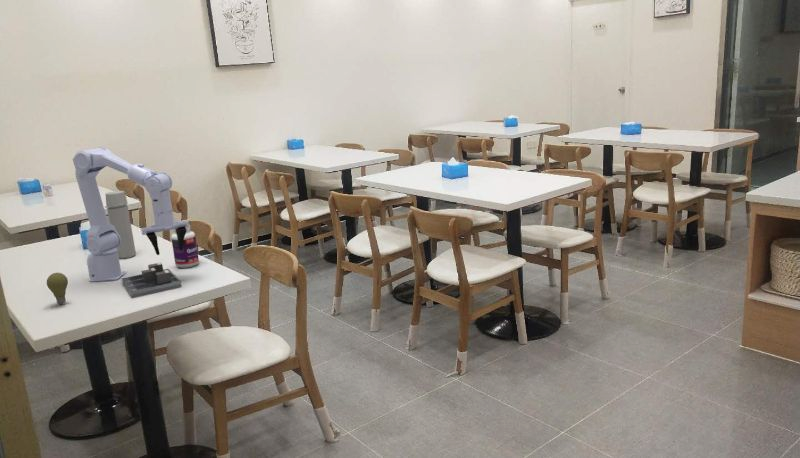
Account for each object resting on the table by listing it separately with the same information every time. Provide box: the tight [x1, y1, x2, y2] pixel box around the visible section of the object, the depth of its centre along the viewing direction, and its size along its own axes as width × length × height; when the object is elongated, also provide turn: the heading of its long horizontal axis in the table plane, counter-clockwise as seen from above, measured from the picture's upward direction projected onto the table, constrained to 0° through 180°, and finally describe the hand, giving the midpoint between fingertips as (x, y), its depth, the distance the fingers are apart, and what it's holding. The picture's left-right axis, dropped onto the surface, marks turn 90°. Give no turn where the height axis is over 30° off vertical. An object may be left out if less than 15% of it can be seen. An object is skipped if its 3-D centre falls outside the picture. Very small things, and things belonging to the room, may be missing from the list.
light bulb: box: [46, 272, 69, 306], centre depth 185 cm, size 6×6×10 cm
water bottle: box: [104, 190, 137, 260], centre depth 231 cm, size 9×8×25 cm
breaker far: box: [147, 261, 164, 272], centre depth 203 cm, size 4×3×4 cm
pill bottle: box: [170, 224, 200, 269], centre depth 216 cm, size 8×8×14 cm
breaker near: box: [155, 269, 172, 285], centre depth 194 cm, size 4×3×4 cm
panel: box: [120, 268, 182, 299], centre depth 198 cm, size 15×17×2 cm
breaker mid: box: [141, 268, 157, 283], centre depth 197 cm, size 4×3×4 cm
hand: (169, 252), depth 199 cm, fingers open, 7 cm apart
